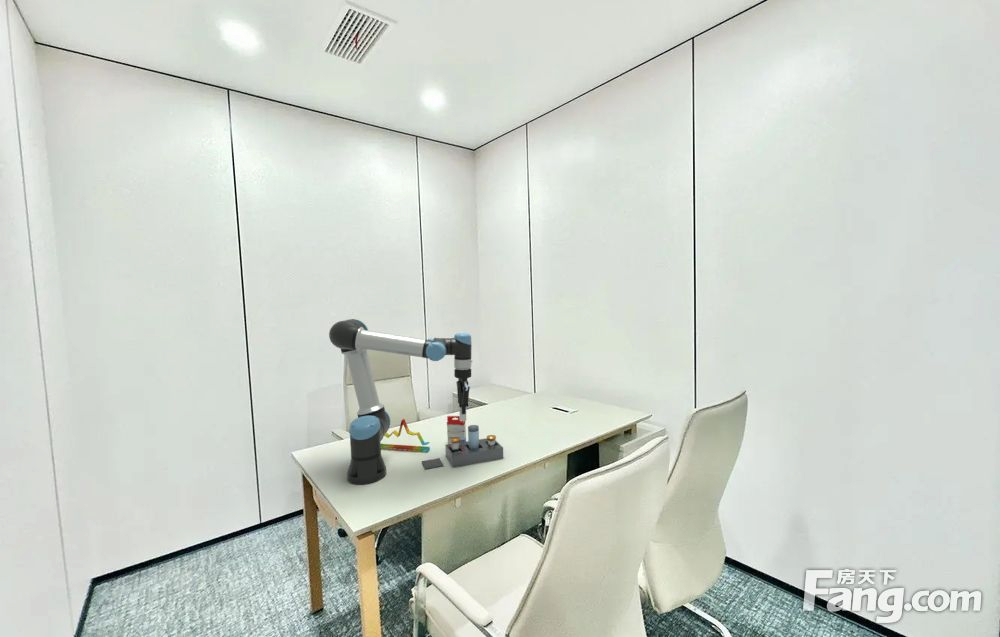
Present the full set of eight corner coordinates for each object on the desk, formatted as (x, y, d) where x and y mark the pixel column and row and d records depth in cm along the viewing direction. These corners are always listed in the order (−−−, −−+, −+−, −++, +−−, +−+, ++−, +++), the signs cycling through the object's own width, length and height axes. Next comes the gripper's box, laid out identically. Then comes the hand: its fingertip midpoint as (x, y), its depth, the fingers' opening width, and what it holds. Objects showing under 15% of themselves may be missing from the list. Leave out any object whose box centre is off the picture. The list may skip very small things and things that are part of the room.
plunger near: (452, 457, 171) (451, 441, 171) (450, 454, 175) (449, 437, 175) (461, 456, 172) (461, 439, 172) (459, 452, 176) (458, 436, 176)
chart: (368, 449, 190) (367, 419, 189) (372, 446, 193) (371, 417, 192) (427, 453, 183) (426, 421, 182) (429, 450, 186) (428, 419, 185)
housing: (453, 467, 166) (452, 456, 166) (445, 455, 179) (445, 444, 179) (503, 458, 174) (503, 447, 174) (492, 447, 187) (492, 437, 187)
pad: (424, 469, 165) (424, 468, 165) (421, 462, 172) (421, 461, 172) (443, 466, 168) (443, 465, 168) (439, 459, 175) (439, 458, 175)
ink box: (466, 442, 196) (465, 413, 195) (464, 445, 191) (463, 416, 190) (449, 441, 196) (448, 413, 196) (447, 445, 192) (446, 416, 191)
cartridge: (470, 460, 174) (469, 429, 173) (467, 456, 178) (466, 425, 177) (480, 458, 175) (479, 427, 175) (477, 454, 180) (476, 424, 179)
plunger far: (488, 455, 177) (488, 438, 177) (485, 451, 181) (485, 435, 181) (497, 453, 179) (497, 437, 178) (494, 450, 183) (494, 434, 182)
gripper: (475, 370, 169) (475, 424, 170) (466, 365, 181) (466, 415, 182) (458, 371, 166) (458, 426, 167) (450, 366, 178) (450, 417, 179)
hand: (462, 420), depth 175 cm, fingers closed
